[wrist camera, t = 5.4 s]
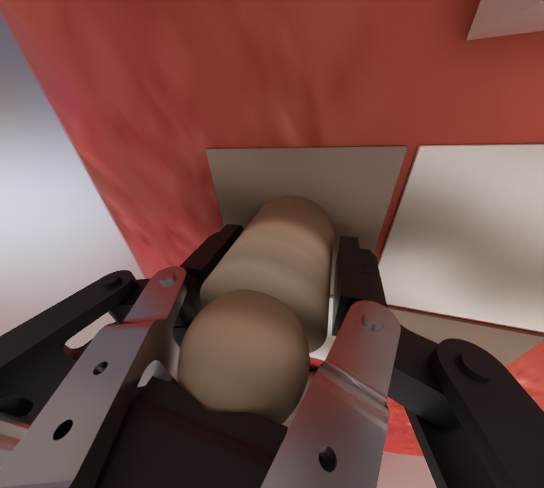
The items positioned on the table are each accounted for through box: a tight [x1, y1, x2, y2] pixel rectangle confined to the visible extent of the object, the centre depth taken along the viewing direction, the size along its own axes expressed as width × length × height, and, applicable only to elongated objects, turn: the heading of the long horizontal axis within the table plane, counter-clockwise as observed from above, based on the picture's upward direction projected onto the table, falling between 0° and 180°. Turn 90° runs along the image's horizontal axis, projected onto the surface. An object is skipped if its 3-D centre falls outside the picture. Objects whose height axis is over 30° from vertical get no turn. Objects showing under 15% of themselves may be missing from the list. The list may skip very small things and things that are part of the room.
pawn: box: [177, 195, 334, 424], centre depth 7 cm, size 4×4×8 cm
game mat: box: [205, 144, 544, 367], centre depth 12 cm, size 18×18×1 cm
